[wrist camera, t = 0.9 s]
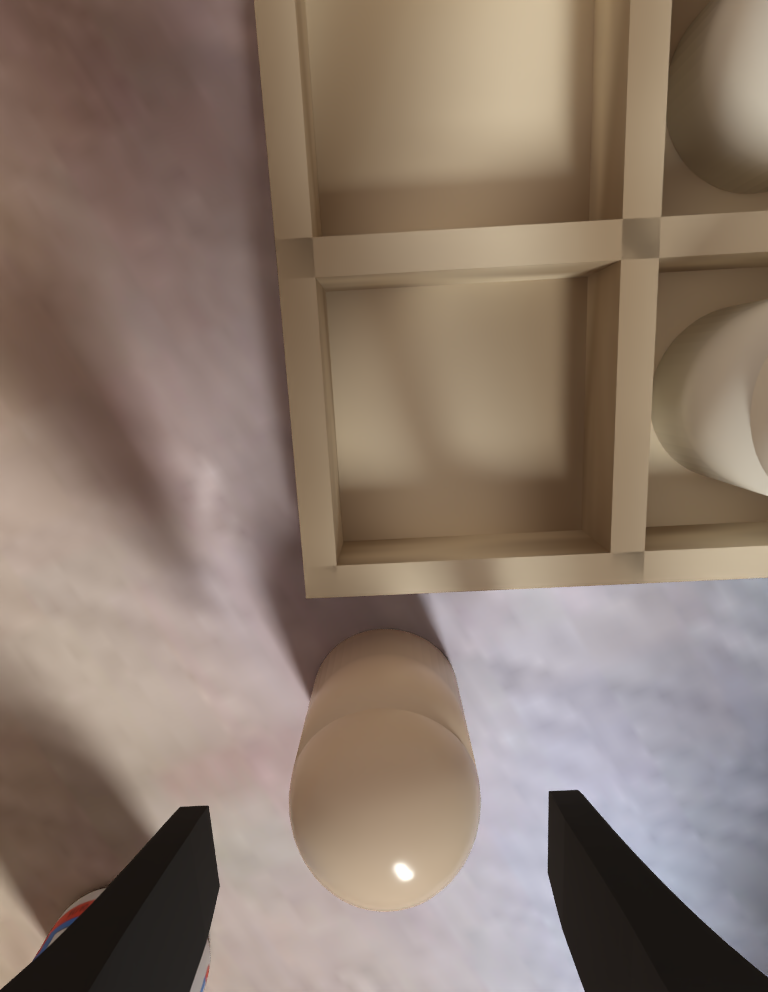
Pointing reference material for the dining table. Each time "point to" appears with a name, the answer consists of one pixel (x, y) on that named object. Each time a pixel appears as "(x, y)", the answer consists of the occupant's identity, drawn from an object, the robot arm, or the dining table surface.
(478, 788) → the brown egg
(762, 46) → the cream egg
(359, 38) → the caddy
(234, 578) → the dining table surface
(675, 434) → the cream egg
